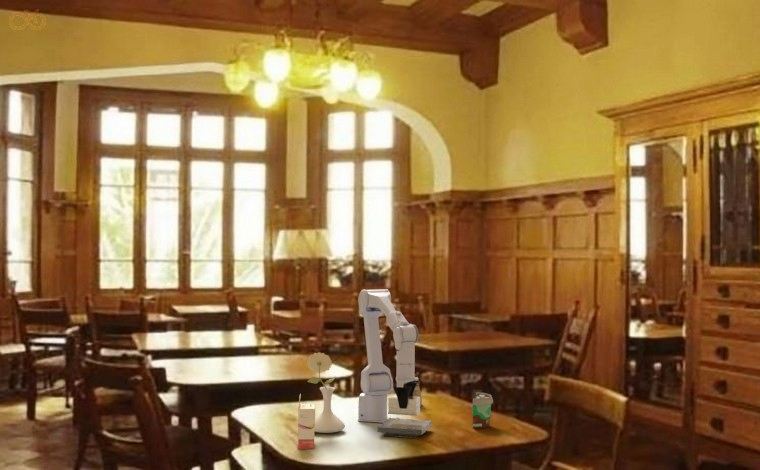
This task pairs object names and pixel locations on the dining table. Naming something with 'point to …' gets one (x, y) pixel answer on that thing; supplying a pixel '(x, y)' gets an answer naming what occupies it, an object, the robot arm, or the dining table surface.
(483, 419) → the food container
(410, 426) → the stand
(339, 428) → the flower in vase
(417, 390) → the figurine
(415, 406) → the block
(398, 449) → the dining table surface
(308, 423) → the juice box
